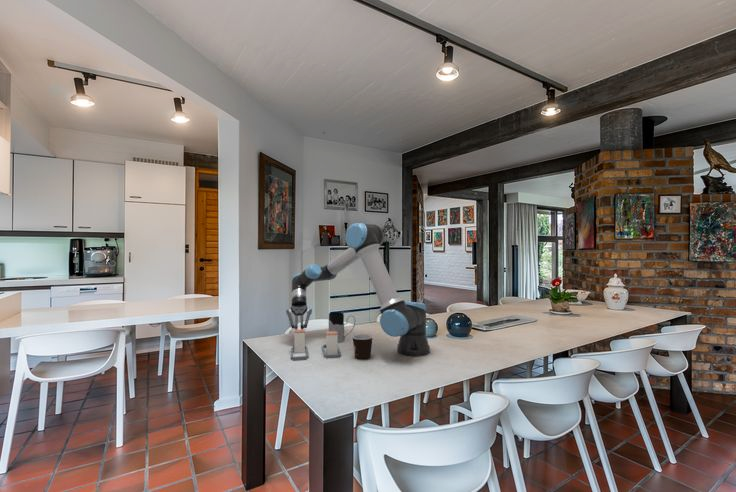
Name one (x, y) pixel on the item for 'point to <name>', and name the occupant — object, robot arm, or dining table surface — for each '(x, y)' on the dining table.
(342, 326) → the grey pitcher
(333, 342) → the tab
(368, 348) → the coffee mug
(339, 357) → the grey double base frame
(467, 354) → the dining table surface
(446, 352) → the dining table surface
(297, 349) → the tab
